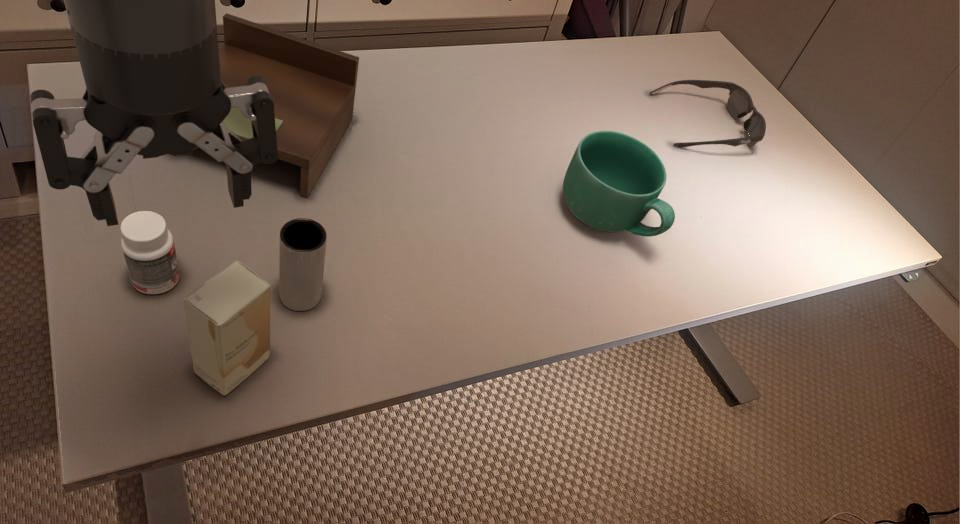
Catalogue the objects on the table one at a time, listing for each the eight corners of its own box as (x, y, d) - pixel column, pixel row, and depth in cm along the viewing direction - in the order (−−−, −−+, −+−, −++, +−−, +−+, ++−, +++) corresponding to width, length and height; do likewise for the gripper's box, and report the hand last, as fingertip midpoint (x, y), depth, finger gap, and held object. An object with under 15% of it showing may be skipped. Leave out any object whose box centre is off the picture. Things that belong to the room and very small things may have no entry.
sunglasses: (763, 159, 112) (777, 137, 108) (672, 160, 109) (682, 136, 105) (728, 98, 122) (739, 76, 118) (643, 97, 119) (652, 74, 115)
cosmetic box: (225, 398, 64) (216, 329, 54) (192, 372, 64) (178, 300, 55) (273, 355, 68) (273, 284, 58) (242, 331, 68) (237, 257, 59)
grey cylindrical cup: (293, 318, 71) (295, 258, 63) (271, 289, 73) (270, 227, 65) (329, 300, 73) (335, 240, 66) (307, 273, 75) (310, 211, 67)
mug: (537, 190, 93) (559, 139, 86) (601, 171, 100) (626, 122, 93) (609, 276, 86) (639, 228, 79) (673, 249, 92) (706, 202, 85)
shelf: (307, 198, 82) (310, 133, 74) (167, 153, 81) (156, 83, 74) (352, 120, 94) (359, 57, 86) (230, 80, 93) (226, 12, 85)
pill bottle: (186, 286, 70) (177, 235, 64) (139, 301, 68) (125, 250, 62) (171, 255, 72) (161, 202, 66) (124, 268, 70) (110, 215, 64)
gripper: (-7, 56, 32) (71, 264, 44) (289, 43, 38) (286, 228, 50) (-12, -27, 36) (61, 186, 48) (258, -27, 42) (262, 161, 54)
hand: (176, 208), depth 49 cm, fingers open, 8 cm apart
